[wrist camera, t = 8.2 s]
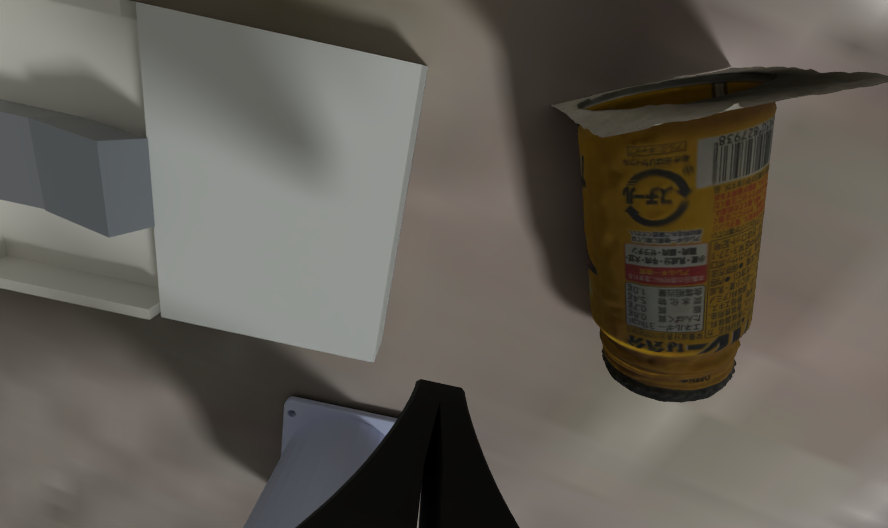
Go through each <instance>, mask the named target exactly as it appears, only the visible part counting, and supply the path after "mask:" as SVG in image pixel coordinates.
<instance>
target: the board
mask: <svg viewBox="0 0 888 528" xmlns="http://www.w3.org/2000/svg"><path fill="white" fill-rule="evenodd" d="M136 13H137V25H138V37H139V50H140V62H141V75H142V87H143V99H144V112H145V124H146V136H147V138H148V147H149V160H150V172H151V185H152V197H153V210H154V222H155V227H154V236H155V248H156V260H157V273H158V285H159V298H160V310H161V317H163V318H167V319H172V320H177V321H181V322H186V323H191V324H196V325H200V326H205V327H210V328H214V329H219V330H224V331H228V332H233V333H238V334H242V335H247V336H252V337H256V338H261V339H266V340H270V341H275V342H280V343H284V344H289V345H294V346H298V347H303V348H308V349H312V350H317V351H322V352H326V353H331V354H336V355H340V356H345V357H350V358H354V359H359V360H364V361H368V362H373V363H374V360H375V357H376V355H377V352H378V350H379V347H380V344H381V342H382V337H383V331H384V325H385V319H386V313H387V307H388V301H389V295H390V289H391V283H392V277H393V272H394V266H395V260H396V254H397V248H398V242H399V236H400V230H401V224H402V218H403V212H404V206H405V200H406V194H407V189H408V183H409V177H410V171H411V165H412V159H413V153H414V147H415V141H416V135H417V129H418V123H419V117H420V111H421V106H422V100H423V94H424V88H425V82H426V76H427V70H428V66H424V65H421V64H416V63H412V62H407V61H403V60H398V59H394V58H389V57H384V56H380V55H375V54H371V53H366V52H362V51H357V50H353V49H348V48H344V47H339V46H335V45H330V44H325V43H321V42H316V41H312V40H307V39H303V38H298V37H294V36H289V35H285V34H280V33H276V32H271V31H266V30H262V29H257V28H253V27H248V26H244V25H239V24H235V23H230V22H226V21H221V20H217V19H212V18H207V17H203V16H198V15H194V14H189V13H185V12H180V11H176V10H171V9H167V8H162V7H158V6H153V5H148V4H144V3H139V2H136Z"/></svg>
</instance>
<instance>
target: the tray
mask: <svg viewBox="0 0 888 528" xmlns="http://www.w3.org/2000/svg"><path fill="white" fill-rule="evenodd" d="M0 99H2V100H7V101H11V102H16V103H21V104H25V105H30V106H34V107H39V108H43V109H48V110H53V111H57V112H62V113H66V114H71V115H75V116H80V117H84V118H87V119H91V120H94V121H97V122H100V123H103V124H106V125H109V126H112V127H115V128H118V129H121V130H124V131H127V132H130V133H133V134H136V135H139V136H142V137H145V138H147V136H146V124H145V112H144V99H143V87H142V75H141V62H140V50H139V37H138V25H137V13H136V2H134V1H130V0H0ZM0 288H3V289H7V290H12V291H17V292H21V293H26V294H31V295H35V296H40V297H45V298H49V299H54V300H59V301H63V302H68V303H73V304H77V305H82V306H87V307H92V308H96V309H101V310H106V311H110V312H115V313H120V314H124V315H129V316H134V317H138V318H143V319H148V320H150V319H152V318H153V317H154V316H156V315H157V314H159V313H160V312H161V310H160V298H159V285H158V273H157V260H156V248H155V236H154V227H151V228H147V229H143V230H139V231H134V232H130V233H126V234H122V235H118V236H114V237H110V238H108V237H106V236H104V235H101V234H99V233H97V232H94V231H92V230H90V229H87V228H85V227H83V226H80V225H78V224H76V223H73V222H71V221H69V220H66V219H64V218H62V217H59V216H57V215H55V214H52V213H50V212H48V211H45V209H42V208H37V207H33V206H28V205H23V204H19V203H14V202H10V201H5V200H0Z"/></svg>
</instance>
